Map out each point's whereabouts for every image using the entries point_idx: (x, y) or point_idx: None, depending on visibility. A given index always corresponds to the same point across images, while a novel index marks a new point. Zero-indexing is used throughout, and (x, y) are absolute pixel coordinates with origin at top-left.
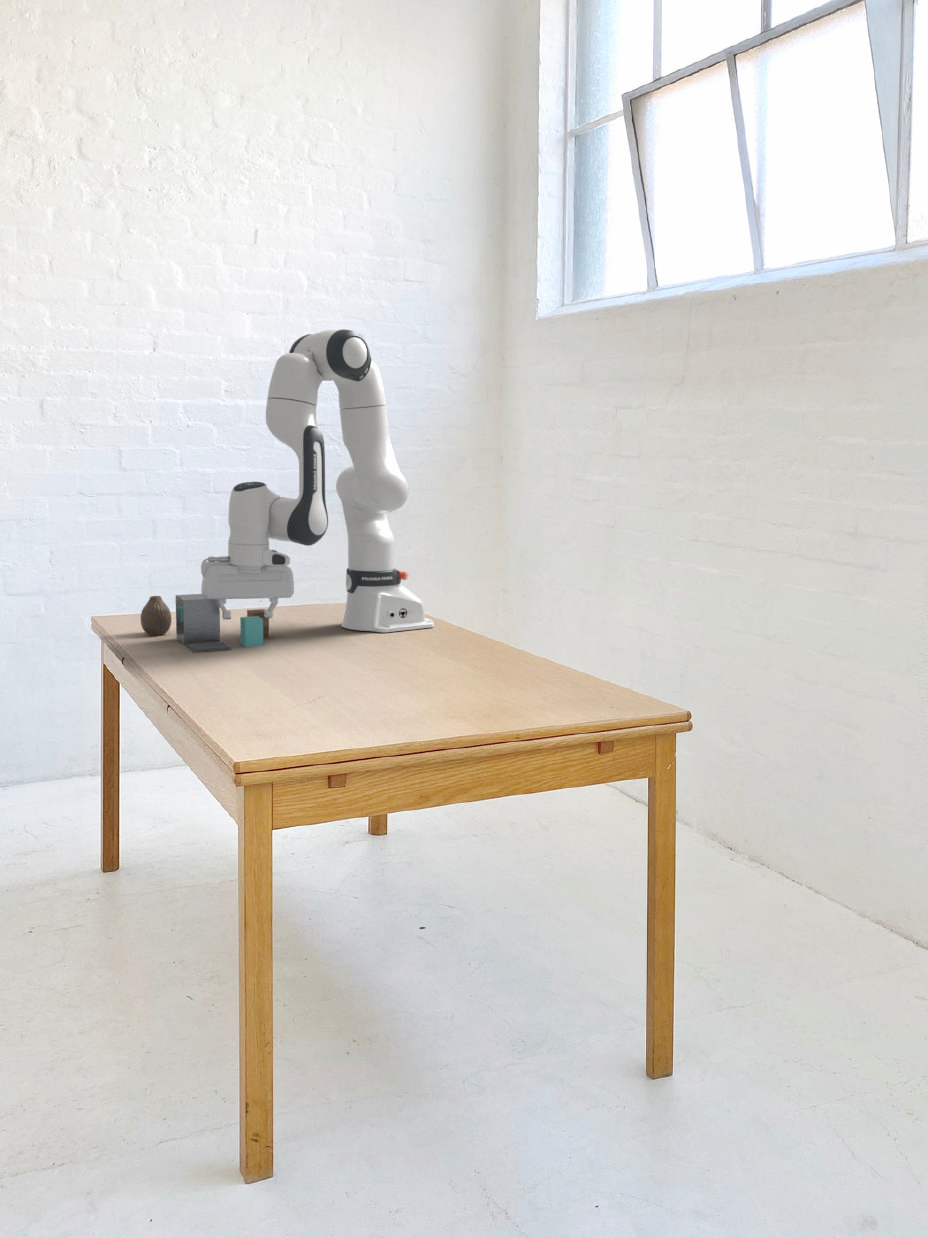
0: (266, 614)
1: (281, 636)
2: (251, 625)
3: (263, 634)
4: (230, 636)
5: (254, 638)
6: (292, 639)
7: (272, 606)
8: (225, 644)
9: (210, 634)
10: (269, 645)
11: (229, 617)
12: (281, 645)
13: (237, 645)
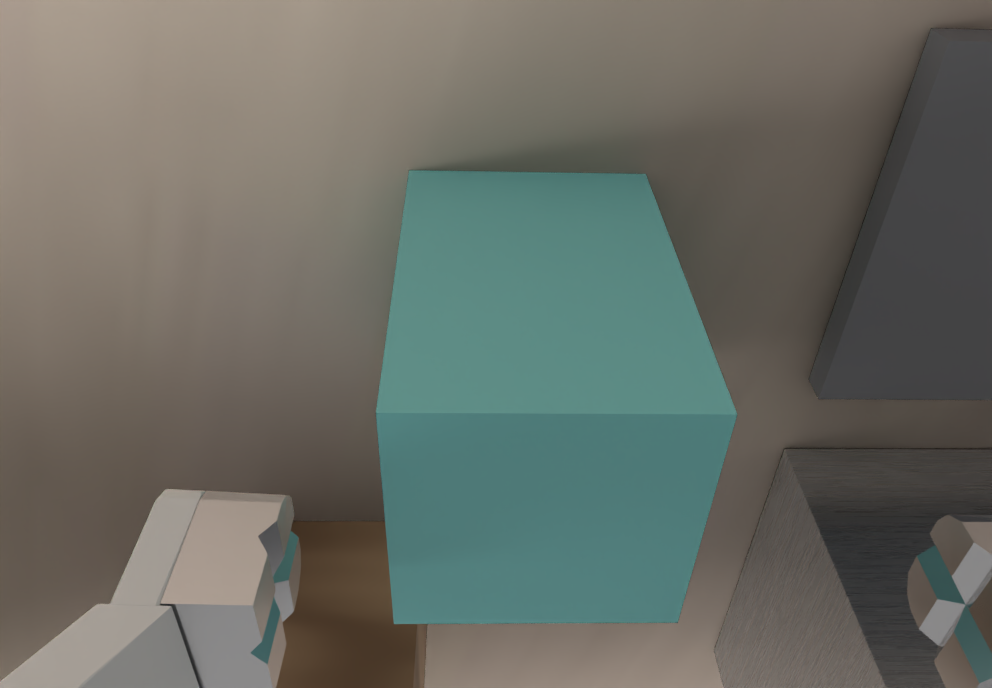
0: (266, 555)
1: (124, 526)
2: (597, 344)
3: (303, 548)
4: (572, 623)
5: (533, 221)
6: (5, 381)
7: (82, 684)
8: (894, 237)
9: (921, 518)
10: (328, 146)
11: (990, 530)
12: (163, 88)
13: (697, 277)
